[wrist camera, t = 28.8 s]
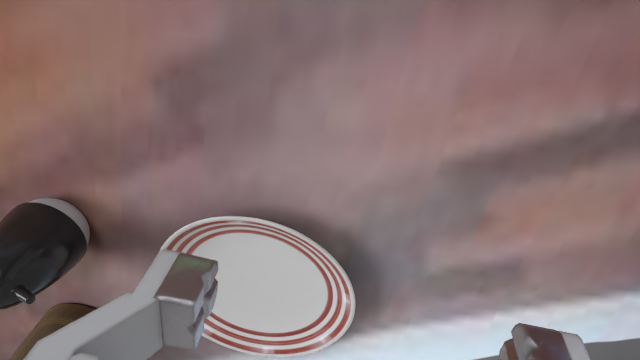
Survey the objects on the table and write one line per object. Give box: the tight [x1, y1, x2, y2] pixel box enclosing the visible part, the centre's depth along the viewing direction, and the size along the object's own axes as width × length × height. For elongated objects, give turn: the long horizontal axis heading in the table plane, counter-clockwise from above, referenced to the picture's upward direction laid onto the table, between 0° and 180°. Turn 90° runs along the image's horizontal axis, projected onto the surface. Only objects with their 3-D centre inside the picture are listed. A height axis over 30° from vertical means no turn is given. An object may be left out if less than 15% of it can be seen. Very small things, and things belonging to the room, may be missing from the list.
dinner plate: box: [159, 216, 356, 357], centre depth 60 cm, size 27×27×3 cm
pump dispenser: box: [0, 198, 90, 310], centre depth 54 cm, size 10×10×15 cm
